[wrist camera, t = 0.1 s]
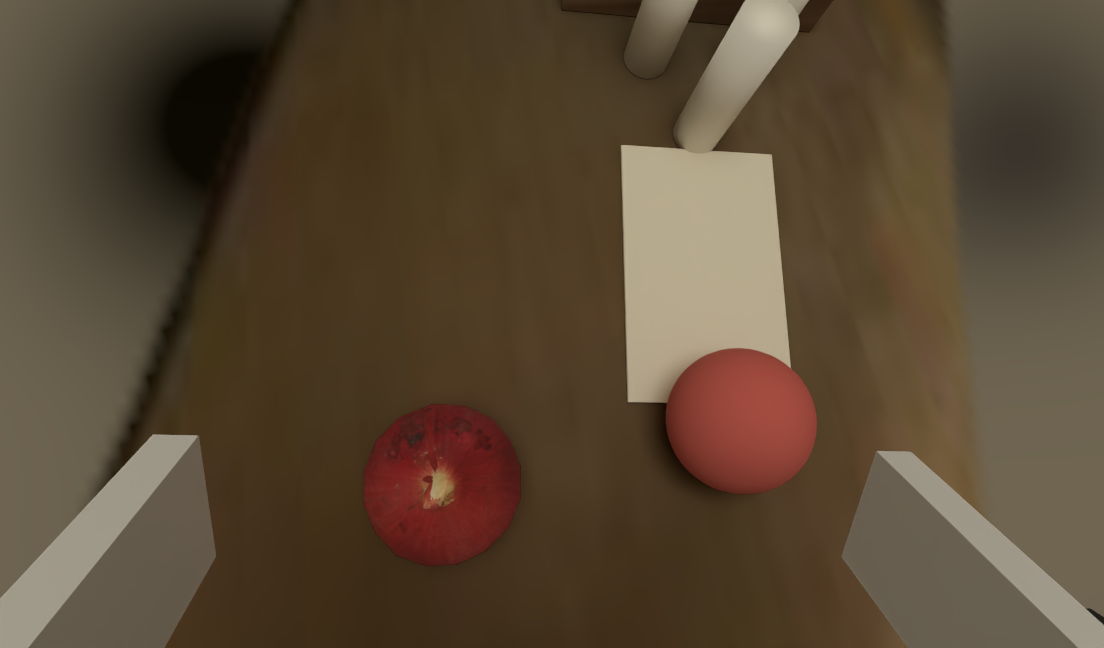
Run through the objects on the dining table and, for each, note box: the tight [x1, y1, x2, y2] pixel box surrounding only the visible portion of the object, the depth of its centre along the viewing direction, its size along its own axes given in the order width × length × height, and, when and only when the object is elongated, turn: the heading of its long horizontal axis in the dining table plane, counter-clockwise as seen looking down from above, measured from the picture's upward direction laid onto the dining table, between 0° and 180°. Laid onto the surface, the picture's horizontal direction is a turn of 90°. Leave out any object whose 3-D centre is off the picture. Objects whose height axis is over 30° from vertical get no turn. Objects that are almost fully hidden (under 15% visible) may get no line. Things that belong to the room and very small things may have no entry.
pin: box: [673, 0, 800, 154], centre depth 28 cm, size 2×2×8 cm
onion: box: [364, 404, 521, 566], centre depth 23 cm, size 6×6×8 cm
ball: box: [666, 348, 817, 494], centre depth 26 cm, size 6×6×6 cm
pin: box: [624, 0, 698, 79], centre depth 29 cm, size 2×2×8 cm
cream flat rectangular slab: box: [620, 145, 791, 403], centre depth 30 cm, size 13×8×1 cm, turn 0°
